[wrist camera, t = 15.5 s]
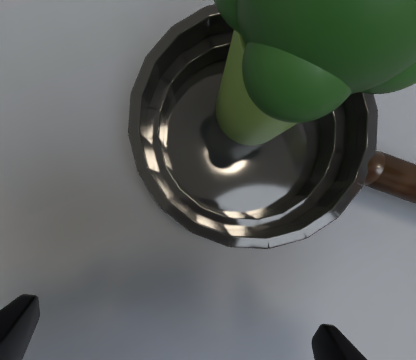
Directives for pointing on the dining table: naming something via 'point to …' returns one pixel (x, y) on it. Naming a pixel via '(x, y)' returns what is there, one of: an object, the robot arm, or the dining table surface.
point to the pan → (239, 148)
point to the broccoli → (309, 60)
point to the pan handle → (392, 176)
